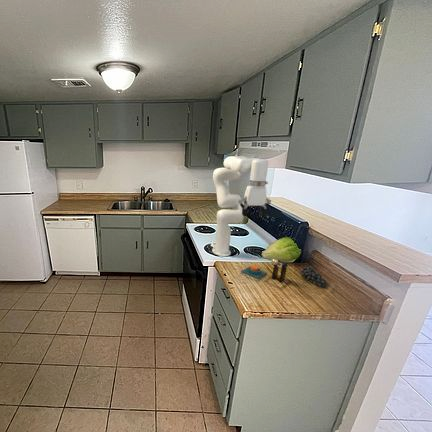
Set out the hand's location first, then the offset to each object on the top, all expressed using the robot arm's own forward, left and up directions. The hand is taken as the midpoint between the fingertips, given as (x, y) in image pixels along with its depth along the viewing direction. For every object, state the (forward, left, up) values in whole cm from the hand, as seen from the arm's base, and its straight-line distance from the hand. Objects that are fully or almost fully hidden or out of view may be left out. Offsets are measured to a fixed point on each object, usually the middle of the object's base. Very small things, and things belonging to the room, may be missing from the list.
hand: (252, 215), depth 129 cm
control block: (+2, +6, -37) cm, 38 cm away
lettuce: (+2, +40, -37) cm, 55 cm away
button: (+2, +6, -33) cm, 34 cm away
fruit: (+27, +23, -37) cm, 52 cm away
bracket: (+14, +10, -37) cm, 41 cm away
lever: (+14, +5, -26) cm, 30 cm away
